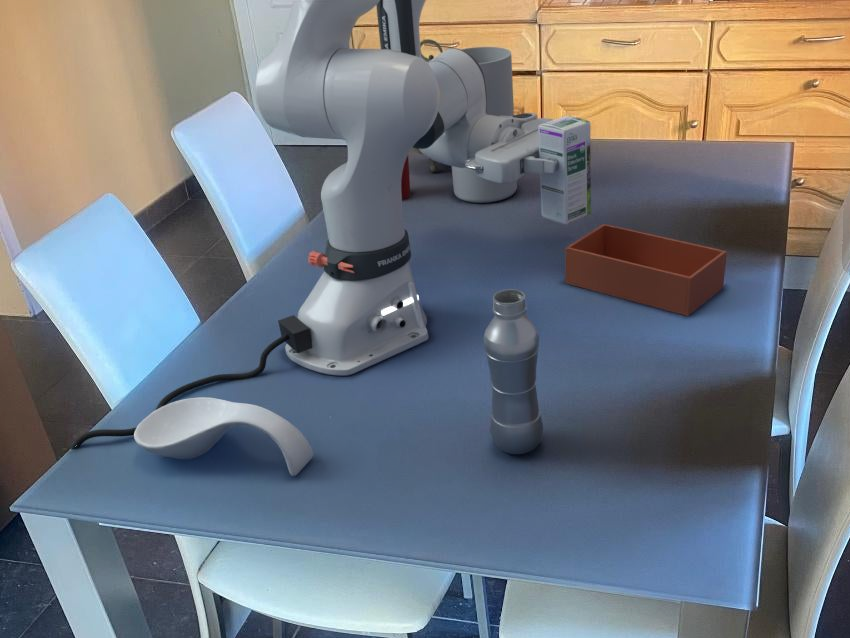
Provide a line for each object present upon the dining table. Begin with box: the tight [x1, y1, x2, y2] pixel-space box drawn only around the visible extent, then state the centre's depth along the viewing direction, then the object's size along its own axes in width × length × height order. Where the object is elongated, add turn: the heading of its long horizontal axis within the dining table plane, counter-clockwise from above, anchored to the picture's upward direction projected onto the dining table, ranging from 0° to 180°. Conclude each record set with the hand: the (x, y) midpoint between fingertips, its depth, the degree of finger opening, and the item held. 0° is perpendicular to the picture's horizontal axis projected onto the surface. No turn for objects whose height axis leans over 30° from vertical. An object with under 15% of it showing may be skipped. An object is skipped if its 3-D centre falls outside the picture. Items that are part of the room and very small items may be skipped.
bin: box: [564, 223, 728, 317], centre depth 145 cm, size 22×11×6 cm, turn 51°
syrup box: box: [538, 115, 592, 226], centre depth 145 cm, size 6×6×14 cm
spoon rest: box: [133, 396, 314, 477], centre depth 117 cm, size 24×12×7 cm, turn 68°
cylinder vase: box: [451, 46, 518, 204], centre depth 176 cm, size 12×12×25 cm
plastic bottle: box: [483, 288, 544, 455], centre depth 109 cm, size 6×7×20 cm
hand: (570, 159), depth 143 cm, fingers closed on syrup box, 6 cm apart
